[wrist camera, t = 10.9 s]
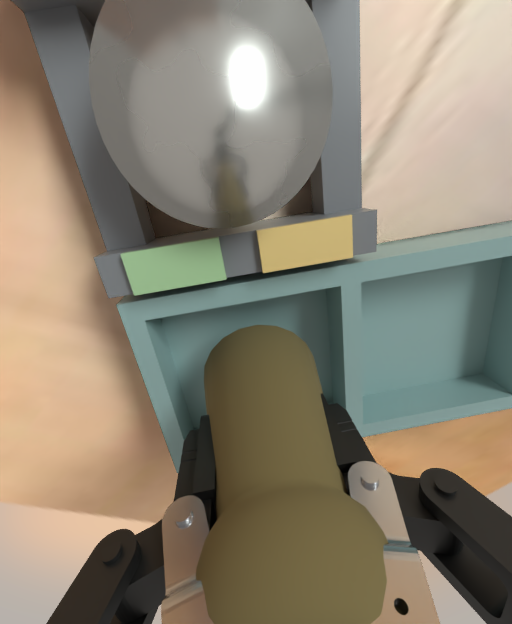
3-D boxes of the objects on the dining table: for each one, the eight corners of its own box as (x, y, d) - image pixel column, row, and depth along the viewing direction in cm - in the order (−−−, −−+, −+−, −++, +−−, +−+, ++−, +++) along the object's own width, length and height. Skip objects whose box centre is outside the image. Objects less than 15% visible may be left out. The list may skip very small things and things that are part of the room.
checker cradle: (337, -61, 12) (385, -169, 8) (346, 240, 16) (379, 252, 13) (35, -20, 11) (-50, -114, 8) (132, 276, 16) (105, 300, 12)
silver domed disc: (295, 0, 11) (325, -81, 8) (310, 206, 14) (337, 210, 11) (100, 29, 11) (44, -44, 8) (156, 232, 14) (134, 244, 11)
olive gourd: (274, 434, 17) (338, 770, 7) (182, 393, 16) (101, 755, 6) (337, 357, 16) (534, 656, 6) (242, 303, 14) (279, 588, 4)
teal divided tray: (516, 219, 17) (573, 224, 14) (487, 377, 21) (526, 405, 18) (135, 285, 16) (116, 304, 13) (183, 435, 20) (177, 473, 18)
